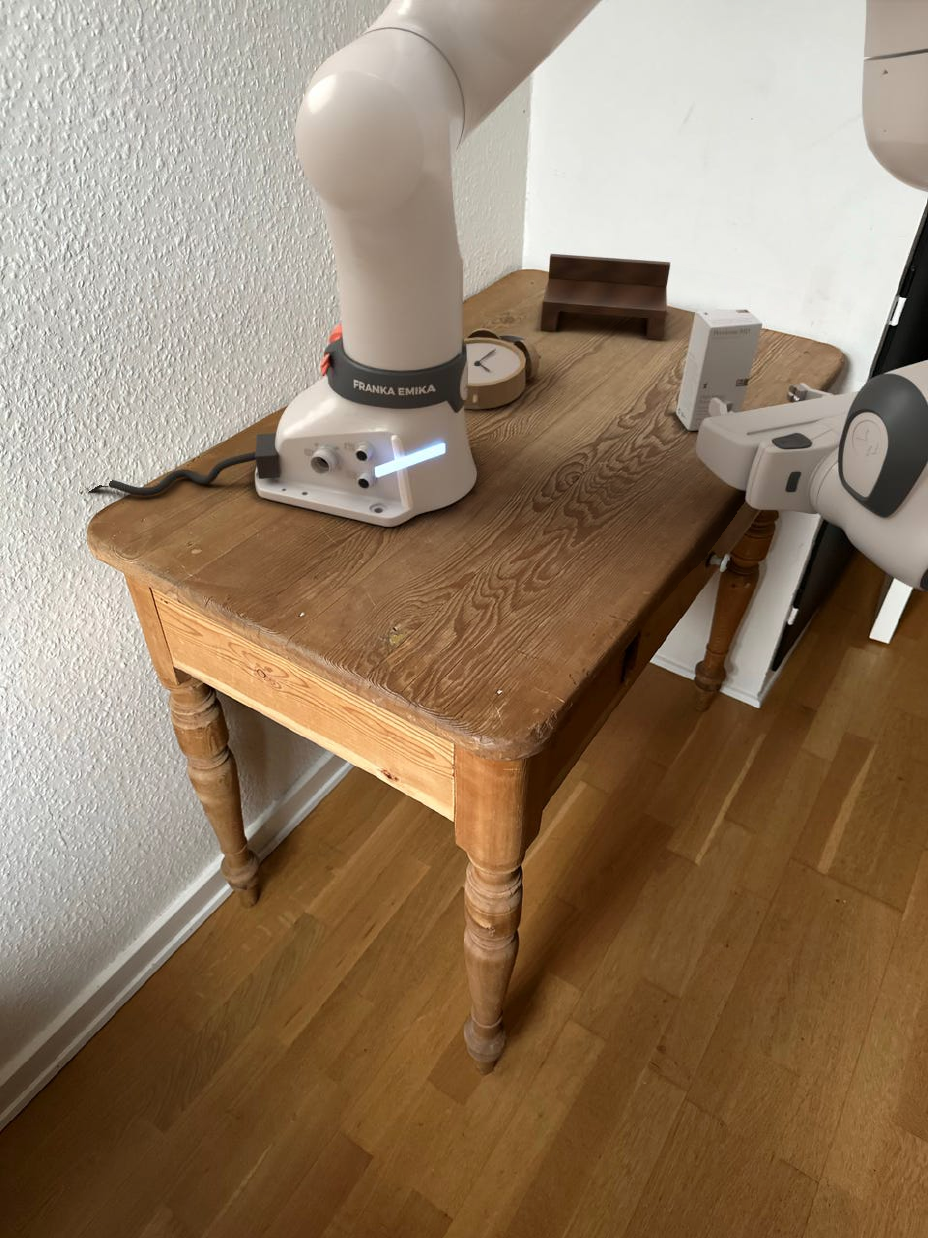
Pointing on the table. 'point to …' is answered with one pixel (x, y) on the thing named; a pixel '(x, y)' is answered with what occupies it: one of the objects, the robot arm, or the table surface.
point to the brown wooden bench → (606, 290)
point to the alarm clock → (497, 368)
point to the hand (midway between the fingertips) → (755, 396)
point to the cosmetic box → (717, 362)
